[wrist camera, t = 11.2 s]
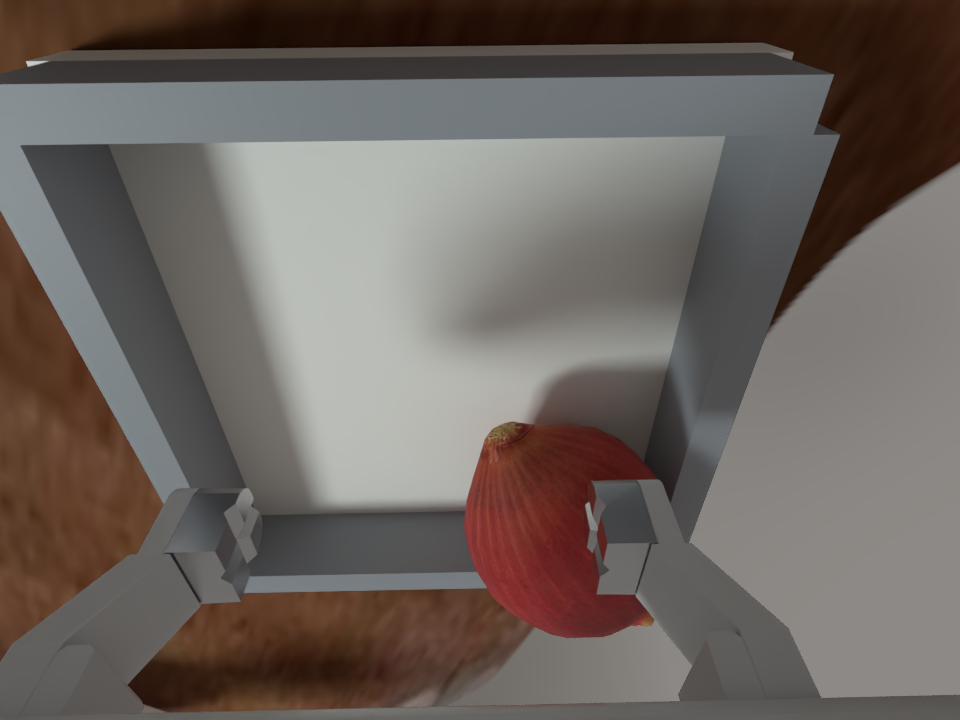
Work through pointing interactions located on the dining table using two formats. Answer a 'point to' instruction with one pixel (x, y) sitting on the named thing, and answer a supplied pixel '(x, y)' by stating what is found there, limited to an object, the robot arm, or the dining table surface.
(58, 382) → the dining table surface
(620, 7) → the dining table surface
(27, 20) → the dining table surface
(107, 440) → the dining table surface
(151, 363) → the stand
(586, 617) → the onion
